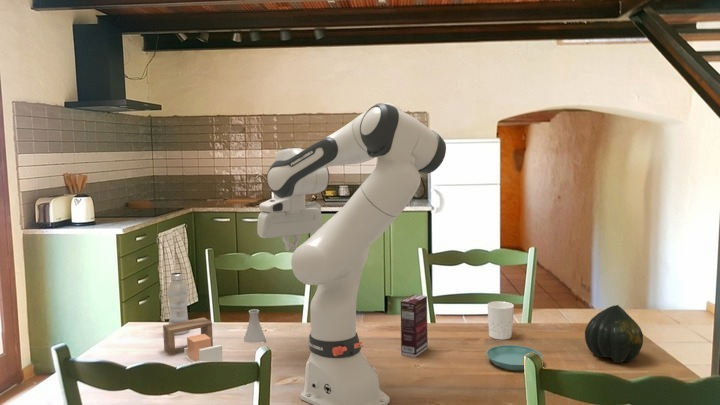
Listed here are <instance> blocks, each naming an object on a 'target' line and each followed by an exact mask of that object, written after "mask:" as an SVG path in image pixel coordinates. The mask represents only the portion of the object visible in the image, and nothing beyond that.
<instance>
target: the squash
mask: <svg viewBox="0 0 720 405" xmlns="http://www.w3.org/2000/svg"><path fill="white" fill-rule="evenodd" d="M584 340H585V344H586V346H587V348H588V350H589V351H590V352H591V353H592V354H593V355H595V356H597V357H605V358H610V359H611V360H612V362H614V363H619V364H620V363H622V362H629V361H633V360H634V359H636V357H637V356H638V354H639V353H640V352H641V350H642V348H643V344H644V334H643V330H642V328H641V327H640V326H639V324H638V323H637V322H636V321H635V319H633V318H632V317H631V316H630V315H629V314H628V313H627V312H626V311H625V309H624V308H622V307H621V306H620V305H619V304H617V305H616V304H615V305H611V306H609V307H607V308H605V309H603V310H602V311H599V312H598V313H597V314H595V315H594V316H592V318H591V319H590V320H589V322H588V323H587V325H586V327H585V330H584Z"/></svg>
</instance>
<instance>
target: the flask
mask: <svg viewBox="0 0 720 405" xmlns="http://www.w3.org/2000/svg"><path fill="white" fill-rule="evenodd" d="M259 313H260V310H259V309H254V308H253V309H250V310H248V314H249V320H248V325H247V328H246V332H245V336H244V338H243V341H244V342H245V343H251V344H254V343H255V344H256V343H262V342H264V343H267V338H266V336H265V334H264V331H263V328H262V326H261V323H260V319H259Z"/></svg>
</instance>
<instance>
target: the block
mask: <svg viewBox="0 0 720 405" xmlns="http://www.w3.org/2000/svg"><path fill="white" fill-rule="evenodd" d="M186 339H187V340H186V342H187V344H186V346H187V347H188V357H190V358H191V359H192V360H193V361H198V360H199V349H203V348H207V347H211V338H210V337H208V336H207V335H205V334H201V333H200V334H196V335H192V336H191V335H190V336H187V338H186Z"/></svg>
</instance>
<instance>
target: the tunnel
mask: <svg viewBox="0 0 720 405" xmlns="http://www.w3.org/2000/svg"><path fill="white" fill-rule="evenodd" d="M196 329H200V334H205V335H207V336H208V337H210V338H211V347H212V346H214V344H213V343H214V342H213V340H214V339H213V322H212V321H211V320H209V319H207V318H206V317H199V318H193V319H188V321H183V322H177V323H172V324H169V323H167V324H164V325H162V330H163V334H162V335H163V349H164V351H165V352H166V353H167V354H168V355H169V356H170V357H173V356H176V342H175V341H176V339H175V335H174V333H177V332H182V331H187V330H189V331H191V330H196Z"/></svg>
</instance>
